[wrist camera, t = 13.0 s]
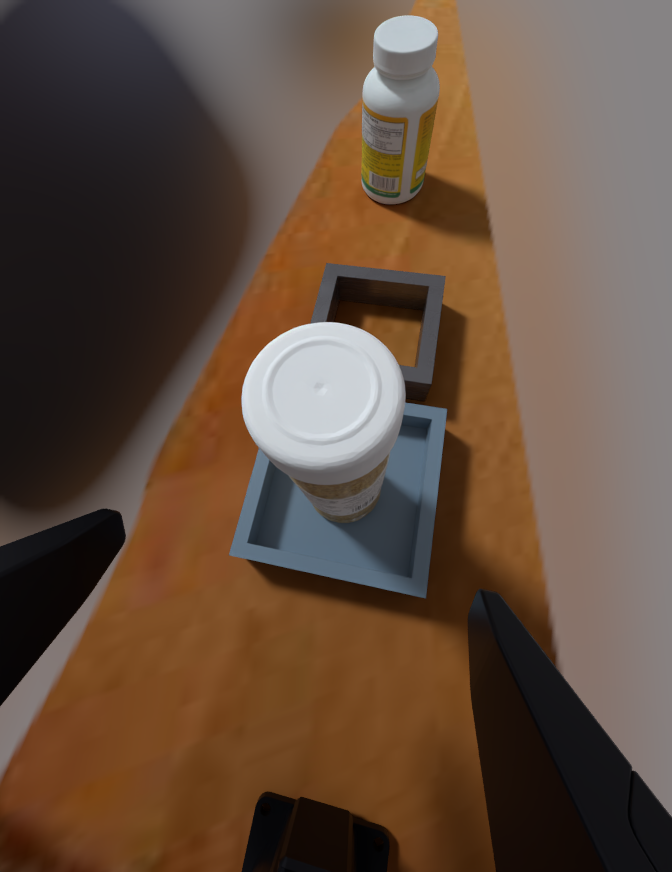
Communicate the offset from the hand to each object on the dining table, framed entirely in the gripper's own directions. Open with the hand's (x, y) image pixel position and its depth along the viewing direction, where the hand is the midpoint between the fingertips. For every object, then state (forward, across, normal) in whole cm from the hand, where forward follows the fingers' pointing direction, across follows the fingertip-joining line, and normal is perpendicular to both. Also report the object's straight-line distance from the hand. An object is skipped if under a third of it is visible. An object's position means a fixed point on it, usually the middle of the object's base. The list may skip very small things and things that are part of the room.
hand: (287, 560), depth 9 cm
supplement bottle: (+32, +1, -13) cm, 35 cm away
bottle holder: (+21, 0, -1) cm, 21 cm away
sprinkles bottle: (+12, 0, +6) cm, 14 cm away
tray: (+13, 0, +6) cm, 14 cm away
